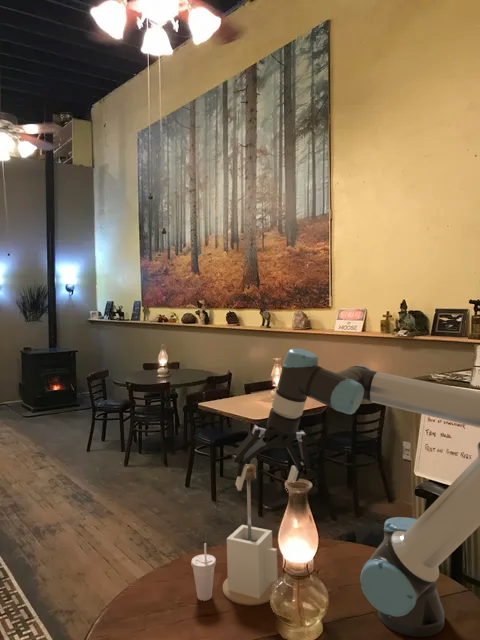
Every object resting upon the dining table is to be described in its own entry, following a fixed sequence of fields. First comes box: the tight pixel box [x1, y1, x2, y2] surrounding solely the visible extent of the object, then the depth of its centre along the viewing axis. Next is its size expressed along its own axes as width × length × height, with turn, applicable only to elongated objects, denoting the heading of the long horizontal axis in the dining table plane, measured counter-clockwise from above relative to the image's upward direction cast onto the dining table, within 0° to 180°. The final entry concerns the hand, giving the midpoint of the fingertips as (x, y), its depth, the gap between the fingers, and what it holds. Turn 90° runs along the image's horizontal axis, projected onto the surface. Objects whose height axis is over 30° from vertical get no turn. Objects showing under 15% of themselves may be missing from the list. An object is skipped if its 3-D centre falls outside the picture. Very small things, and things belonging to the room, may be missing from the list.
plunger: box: [244, 463, 257, 542], centre depth 135 cm, size 6×6×22 cm
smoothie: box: [190, 542, 217, 602], centre depth 132 cm, size 6×6×14 cm
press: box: [222, 524, 279, 606], centre depth 136 cm, size 15×15×15 cm
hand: (263, 489), depth 127 cm, fingers open, 13 cm apart
